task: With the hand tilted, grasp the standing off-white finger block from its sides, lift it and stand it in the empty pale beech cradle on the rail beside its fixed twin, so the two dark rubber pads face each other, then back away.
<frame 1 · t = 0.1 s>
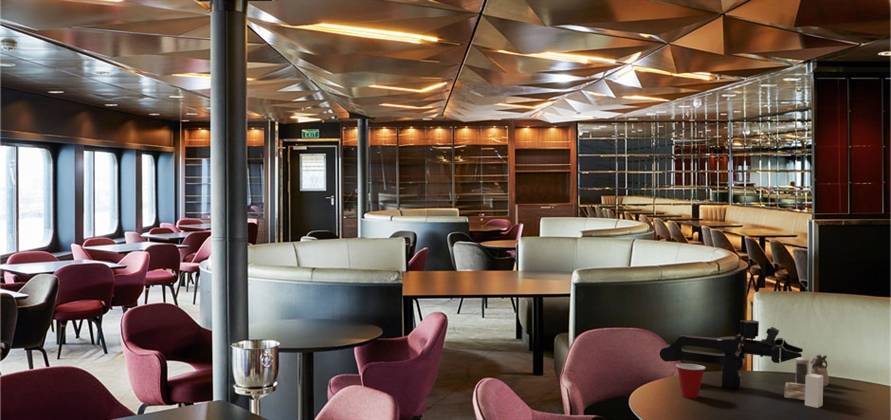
hand: (802, 352, 290), 17 cm above the table, tool horizontal, fingers open, 9 cm apart
figurine: (818, 384, 308), on the table
finger block: (813, 405, 279), on the table
plastic cup: (689, 396, 290), on the table
cradle: (799, 395, 291), on the table
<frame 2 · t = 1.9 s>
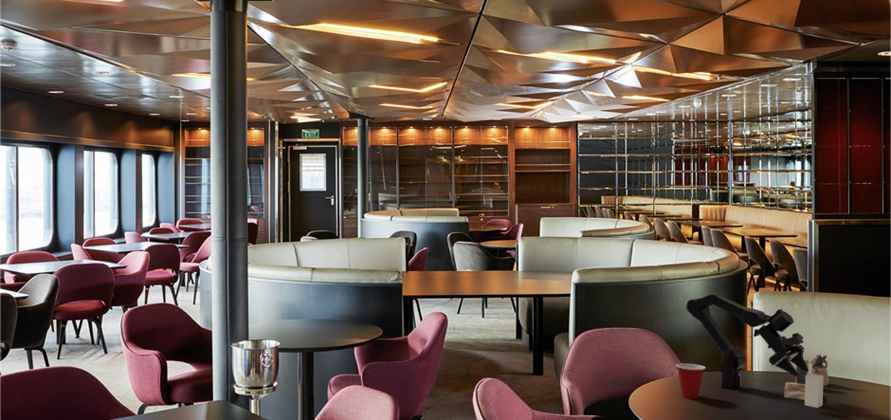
hand: (802, 373, 282), 11 cm above the table, tool tilted 45°, fingers open, 9 cm apart
nothing on the table moved.
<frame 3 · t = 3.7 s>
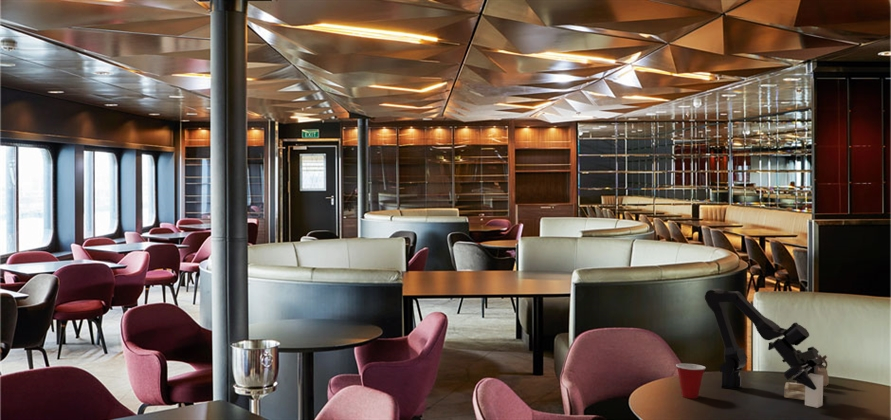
hand: (818, 388, 278), 7 cm above the table, tool tilted 45°, fingers closed on finger block, 5 cm apart
finger block: (813, 405, 279), on the table, touching gripper
everything else where it was.
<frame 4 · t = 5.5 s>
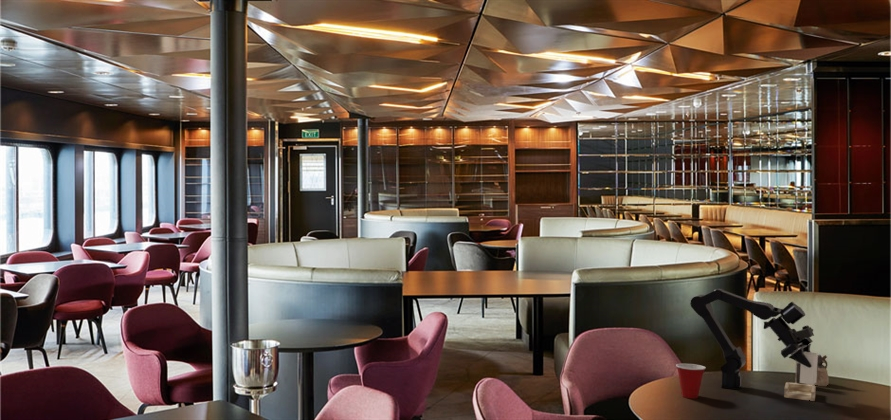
hand: (812, 365, 284), 13 cm above the table, tool tilted 45°, fingers closed on finger block, 5 cm apart
finger block: (808, 382, 285), point 7 cm above the table, touching gripper
everything else where it was.
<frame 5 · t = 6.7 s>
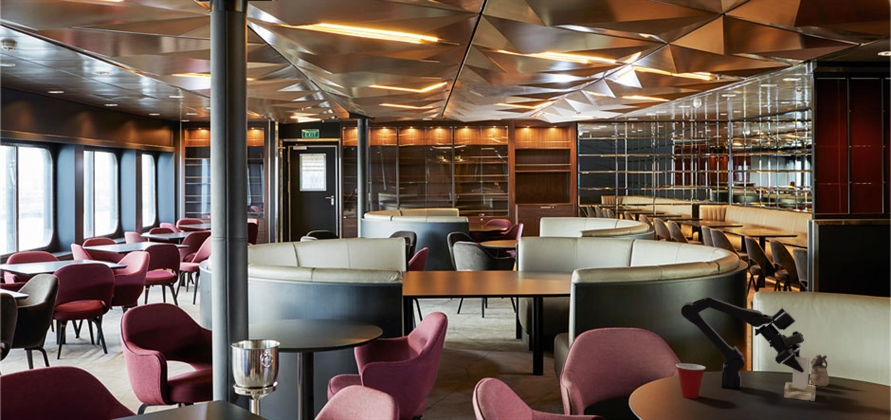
hand: (804, 370, 290), 10 cm above the table, tool tilted 45°, fingers closed on finger block, 5 cm apart
finger block: (799, 387, 291), point 3 cm above the table, touching gripper
everything else where it was.
when the fingers open (8 cm above the table, at t = 7.4 s): finger block drops 1 cm, resting on cradle.
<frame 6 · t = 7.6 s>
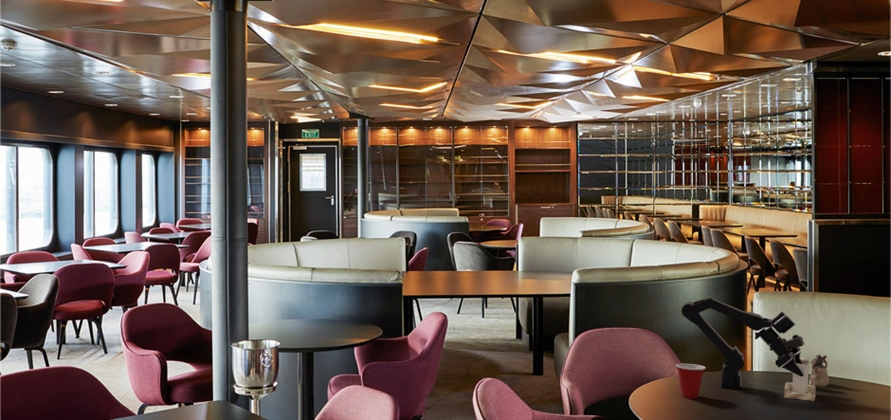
hand: (804, 374, 290), 9 cm above the table, tool tilted 45°, fingers open, 7 cm apart
finger block: (800, 393, 291), point 1 cm above the table, touching cradle
everything else where it was.
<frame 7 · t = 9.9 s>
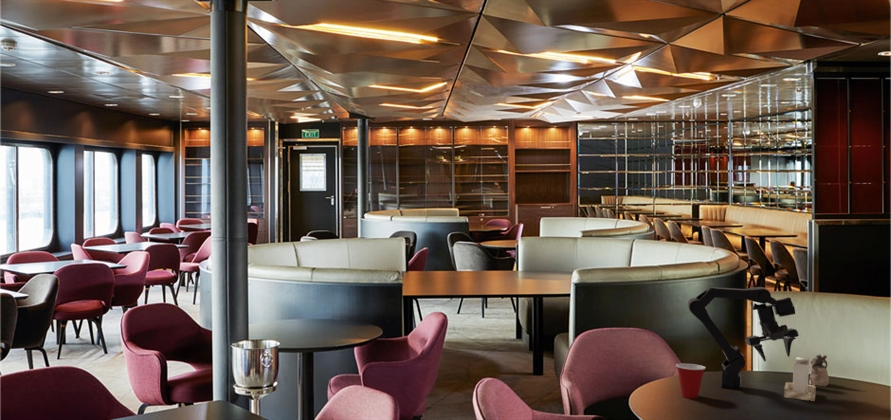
hand: (776, 358, 297), 13 cm above the table, tool pointing down, fingers open, 9 cm apart
nothing on the table moved.
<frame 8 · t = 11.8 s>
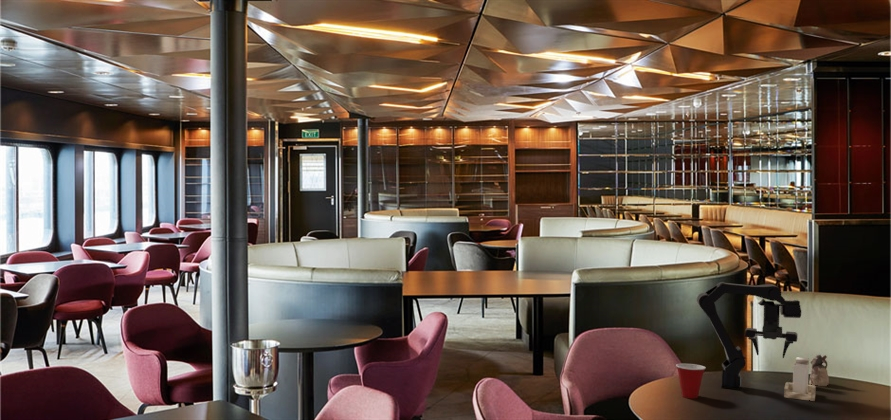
hand: (770, 356, 299), 13 cm above the table, tool pointing down, fingers open, 9 cm apart
nothing on the table moved.
at the end: finger block inside the target area on the cradle (0.2 cm from its centre), point 0.8 cm above the cradle's base; finger block tilted 0°; the gripper is holding nothing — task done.
